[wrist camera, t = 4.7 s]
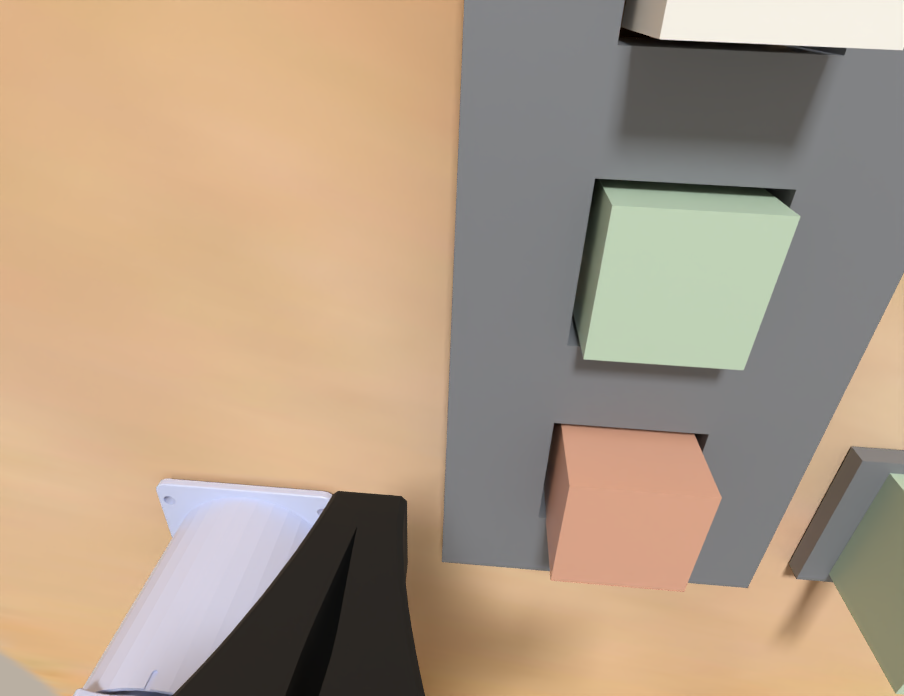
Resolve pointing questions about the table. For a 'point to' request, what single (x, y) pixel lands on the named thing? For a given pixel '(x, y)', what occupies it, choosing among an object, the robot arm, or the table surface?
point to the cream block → (772, 22)
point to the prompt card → (864, 550)
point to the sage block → (678, 272)
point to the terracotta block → (626, 506)
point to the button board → (562, 240)
